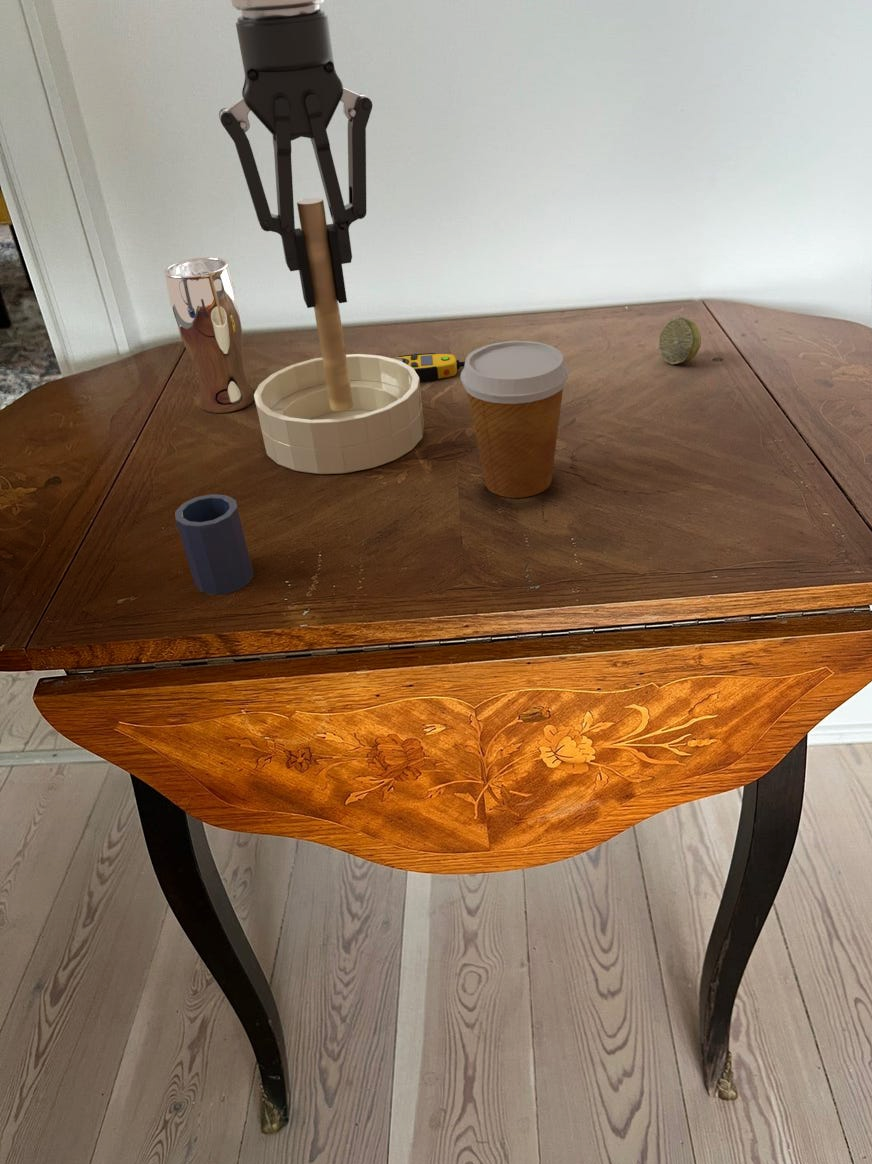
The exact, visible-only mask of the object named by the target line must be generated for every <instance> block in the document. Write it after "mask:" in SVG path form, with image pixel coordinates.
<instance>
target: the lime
mask: <svg viewBox="0 0 872 1164" xmlns="http://www.w3.org/2000/svg"><path fill="white" fill-rule="evenodd" d="M658 340H659V341H658V342H659V343H658V350H659V354H660V356H661V358H662V360H663V361H664V362H666V363H668V364H670V365H681V364H684V363H687V362H689V361H692V359H694V358H695V356H696V355H698V353H699V350H700V348H701V346H702V335H701V332H700V329H699V327H698V325H697V324H696V323H695V322H694V321H692V320H691V319H689V318H687V317H684V316H678V317H675V318H673V319H670V320H669V321H668V322H667V323H666V324H665V326H664V327H663V329H662V330H661V332H660V334H659V339H658Z"/></svg>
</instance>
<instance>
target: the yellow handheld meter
mask: <svg viewBox="0 0 872 1164" xmlns="http://www.w3.org/2000/svg"><path fill="white" fill-rule="evenodd" d="M391 358H392V359H396V360H400V361H402V362H404V363H405V364H407V365H409V366H410V367H412V368H414V370H415V372H416V373H417V375H418V377H419V379H420V383H423V382H433V381H438V380H439V379H445V378H450V377H454V376H456V375H457V373H458V370H460V369H461V368H464V365H465V361H460V360H459V359H457V358H456V355H454V354H452V353H451V354H450V353H435V352H428V353H412V354H404V355H399V356H396V357H391Z"/></svg>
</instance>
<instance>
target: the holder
mask: <svg viewBox="0 0 872 1164" xmlns="http://www.w3.org/2000/svg"><path fill="white" fill-rule="evenodd" d="M174 515H175V516H174V518H175V523H176V526H177V529H178V533H179V536H180V539H181V542H182V546H183V549H184V553H185V556H186V559H187V562H188V567H189V570H190V573H191V576H192V580H193V583H194V586H195V588H196V589H197V590H199V591H200V592H201V593H204V594H207V595H224V594H230V593H233V592H236V591H238V590H241V589H242V588H244V587H246V586H247V585H248V584H249V583H250V582H251V581H252V579H253V577H254V575H255V574H254V567H253V564H252V559H251V556H250V551H249V548H248V543H247V540H246V536H245V531H244V526H243V524H242V520H241V515H240V511H239V507H238V503H237V500H236V499H235V498H232V497H230V496H229V495H226V494H216V493H211V494H206V495H201V496H200V495H199V496H196V497H193V498H191V499H190V500H187V501H184V502H183V503H181V505H180V506H179V507H178V508H177V509H176V510H175V512H174Z"/></svg>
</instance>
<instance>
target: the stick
mask: <svg viewBox="0 0 872 1164" xmlns="http://www.w3.org/2000/svg"><path fill="white" fill-rule="evenodd" d="M296 206H297V212H298V213H297V214H298V218H299V225H300V229H301V231H302V233H303V235H304V239H305V245H306V251H307V258H308V264H309V270H310V276H311V283H312V289H313V295H314V301H315V307H313V311H314V316H315V323H316V329H317V335H318V339H319V340H318V341H319V347H320V353H321V357H322V360H323V366H324V373H325V379H326V385H327V391H328V397H329V403H330V408H331V409H332V410H334V411H346V410H349V409H351V408H352V407H353V400H352V393H351V386H350V379H349V372H348V365H347V359H346V355H347V353H346V346H345V339H344V332H343V325H342V318H341V312H340V303H339V302H338V298H337V292H336V285H335V278H334V271H333V264H332V257H331V251H330V244H329V237H328V230H327V224H328V223H327V216H326V208H325V202H324V199H323V198H322V197H316V196H315V197H313V196H312V197H305V198H302V199H299V200H297V201H296Z"/></svg>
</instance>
